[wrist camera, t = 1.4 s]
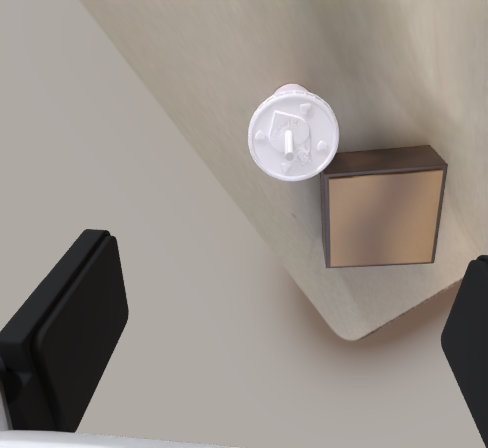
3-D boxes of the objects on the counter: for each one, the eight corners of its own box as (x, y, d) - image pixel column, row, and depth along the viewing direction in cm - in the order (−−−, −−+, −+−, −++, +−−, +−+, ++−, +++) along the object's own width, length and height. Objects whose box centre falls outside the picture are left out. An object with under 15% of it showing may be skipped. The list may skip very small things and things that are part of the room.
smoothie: (305, 51, 33) (316, 87, 21) (340, 116, 36) (367, 180, 24) (241, 93, 36) (220, 147, 24) (279, 151, 38) (276, 227, 26)
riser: (430, 144, 37) (449, 165, 32) (419, 236, 42) (435, 265, 37) (319, 154, 38) (323, 175, 34) (322, 242, 43) (326, 270, 39)
